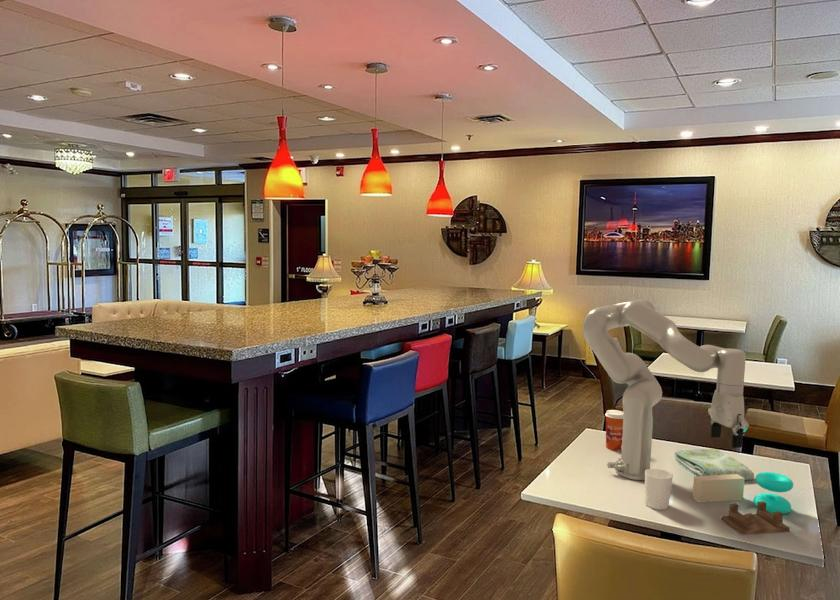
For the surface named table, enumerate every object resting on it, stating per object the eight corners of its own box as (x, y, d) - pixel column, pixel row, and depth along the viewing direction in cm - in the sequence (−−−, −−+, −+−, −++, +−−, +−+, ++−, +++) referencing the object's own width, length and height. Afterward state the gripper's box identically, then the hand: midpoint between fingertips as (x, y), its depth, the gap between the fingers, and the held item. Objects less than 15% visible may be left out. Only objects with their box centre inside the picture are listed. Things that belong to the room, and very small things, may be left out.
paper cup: (604, 450, 239) (606, 414, 237) (602, 443, 246) (604, 408, 245) (626, 452, 237) (628, 416, 236) (622, 445, 245) (625, 410, 243)
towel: (717, 459, 233) (719, 445, 233) (754, 482, 212) (755, 467, 212) (671, 460, 231) (672, 446, 230) (703, 483, 210) (704, 469, 209)
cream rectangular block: (699, 502, 195) (700, 480, 194) (692, 497, 198) (694, 476, 197) (742, 499, 197) (744, 478, 197) (735, 495, 201) (737, 474, 200)
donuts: (793, 486, 183) (755, 478, 188) (790, 519, 185) (752, 510, 190) (793, 475, 192) (756, 468, 197) (790, 506, 193) (753, 498, 198)
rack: (741, 534, 174) (743, 517, 174) (720, 519, 183) (722, 503, 182) (789, 530, 177) (791, 513, 176) (766, 516, 186) (768, 500, 185)
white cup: (667, 513, 187) (669, 480, 185) (640, 506, 191) (642, 474, 190) (672, 503, 193) (674, 472, 192) (646, 497, 197) (648, 466, 196)
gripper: (701, 382, 204) (697, 433, 206) (738, 396, 187) (734, 452, 189) (721, 381, 205) (717, 432, 207) (760, 395, 188) (756, 450, 190)
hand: (725, 442), depth 198 cm, fingers open, 9 cm apart
